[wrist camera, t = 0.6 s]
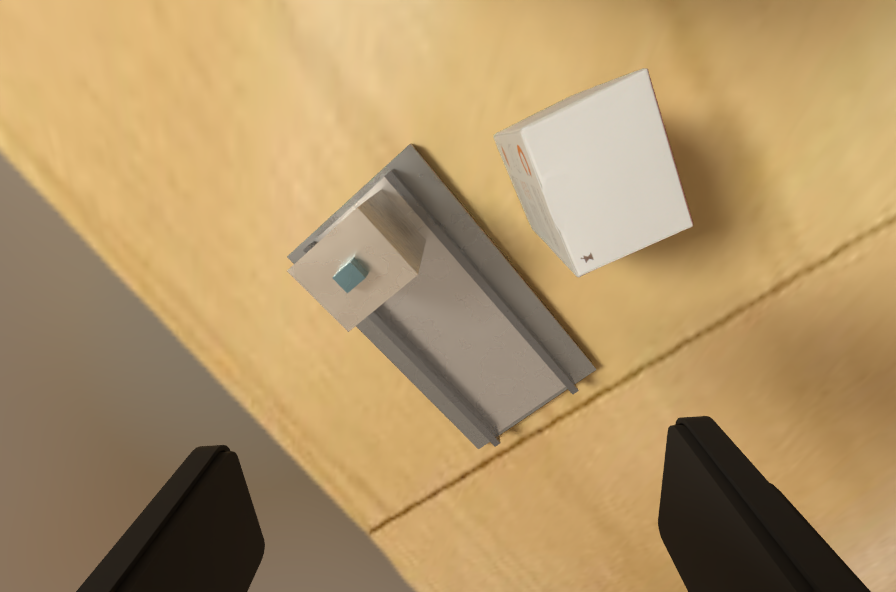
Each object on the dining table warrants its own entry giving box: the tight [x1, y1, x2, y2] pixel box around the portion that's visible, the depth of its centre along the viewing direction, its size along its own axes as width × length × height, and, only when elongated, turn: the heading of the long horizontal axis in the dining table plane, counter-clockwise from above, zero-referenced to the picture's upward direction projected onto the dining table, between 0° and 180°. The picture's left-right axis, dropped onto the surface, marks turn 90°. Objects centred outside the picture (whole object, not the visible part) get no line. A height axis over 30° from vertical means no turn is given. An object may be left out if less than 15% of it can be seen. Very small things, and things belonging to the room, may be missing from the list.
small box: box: [493, 69, 693, 277], centre depth 27 cm, size 8×6×13 cm
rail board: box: [287, 144, 596, 449], centre depth 32 cm, size 13×24×12 cm, turn 40°
